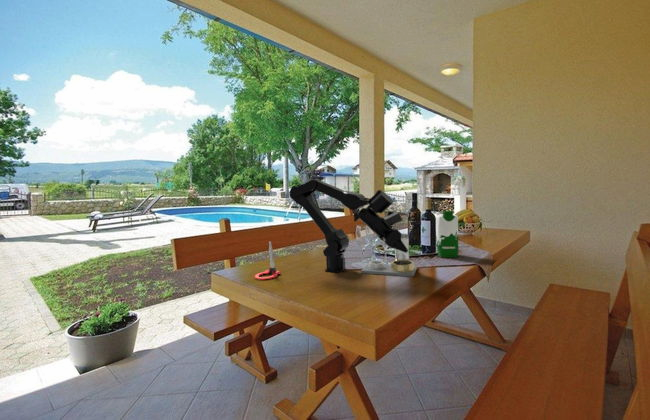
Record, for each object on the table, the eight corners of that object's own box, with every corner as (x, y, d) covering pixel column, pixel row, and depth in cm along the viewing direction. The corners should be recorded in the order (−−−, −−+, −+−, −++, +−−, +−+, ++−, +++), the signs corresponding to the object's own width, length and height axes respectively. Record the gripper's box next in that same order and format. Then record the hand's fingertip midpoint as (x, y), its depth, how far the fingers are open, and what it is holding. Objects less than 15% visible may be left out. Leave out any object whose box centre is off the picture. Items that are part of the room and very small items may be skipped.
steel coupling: (394, 270, 120) (393, 235, 119) (396, 267, 125) (395, 233, 124) (408, 271, 118) (407, 235, 117) (410, 267, 123) (409, 233, 122)
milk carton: (439, 258, 140) (438, 211, 138) (435, 253, 149) (434, 210, 147) (460, 257, 139) (460, 211, 137) (455, 253, 148) (454, 209, 146)
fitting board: (361, 273, 122) (360, 270, 122) (368, 265, 132) (368, 263, 132) (413, 276, 115) (412, 273, 115) (416, 268, 125) (416, 266, 125)
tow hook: (268, 282, 117) (283, 274, 125) (264, 247, 115) (280, 241, 123) (250, 280, 121) (265, 272, 129) (246, 246, 119) (262, 240, 127)
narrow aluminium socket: (367, 268, 124) (367, 263, 124) (371, 265, 129) (370, 260, 129) (381, 269, 122) (381, 264, 121) (385, 266, 127) (384, 261, 127)
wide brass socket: (389, 271, 119) (389, 264, 119) (393, 265, 127) (393, 259, 127) (412, 272, 116) (412, 265, 116) (415, 267, 124) (415, 260, 123)
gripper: (394, 206, 110) (427, 237, 111) (383, 203, 129) (411, 229, 130) (371, 230, 111) (404, 261, 112) (363, 223, 129) (392, 250, 130)
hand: (403, 249), depth 121 cm, fingers open, 9 cm apart
